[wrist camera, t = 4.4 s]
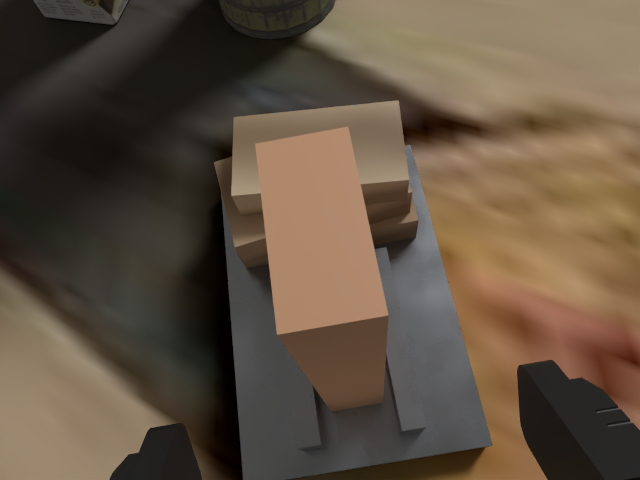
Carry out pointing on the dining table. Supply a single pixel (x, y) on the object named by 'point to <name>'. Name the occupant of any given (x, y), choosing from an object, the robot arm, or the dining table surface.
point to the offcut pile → (371, 159)
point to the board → (324, 266)
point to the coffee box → (83, 10)
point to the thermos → (274, 16)
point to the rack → (400, 371)
